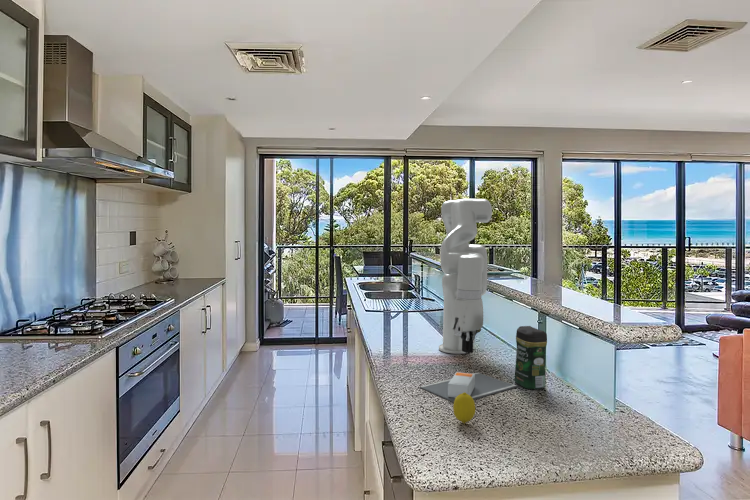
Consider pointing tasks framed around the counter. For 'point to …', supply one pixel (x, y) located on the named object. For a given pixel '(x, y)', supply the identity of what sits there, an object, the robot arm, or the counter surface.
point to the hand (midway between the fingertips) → (467, 351)
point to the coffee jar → (530, 357)
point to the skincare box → (461, 384)
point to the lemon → (464, 407)
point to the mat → (482, 388)
